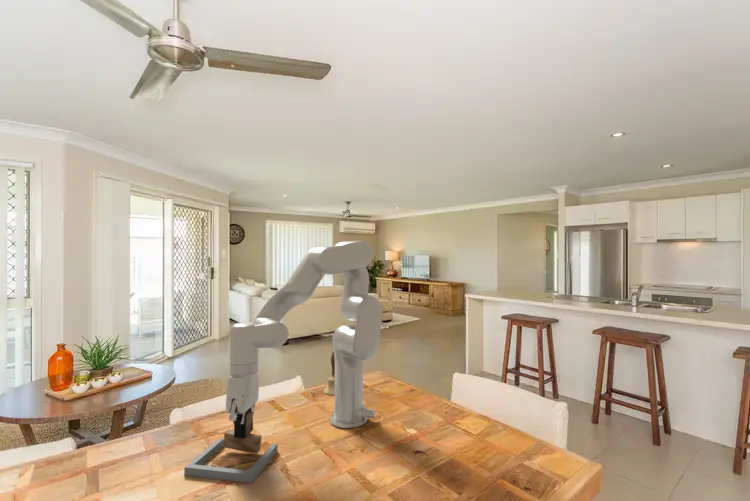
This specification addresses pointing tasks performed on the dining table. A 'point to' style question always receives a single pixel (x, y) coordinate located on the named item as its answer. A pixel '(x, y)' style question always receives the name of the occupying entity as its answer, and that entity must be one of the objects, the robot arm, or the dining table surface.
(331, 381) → the hand bell
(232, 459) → the shard
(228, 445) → the brown wooden block
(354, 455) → the dining table surface
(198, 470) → the frame
